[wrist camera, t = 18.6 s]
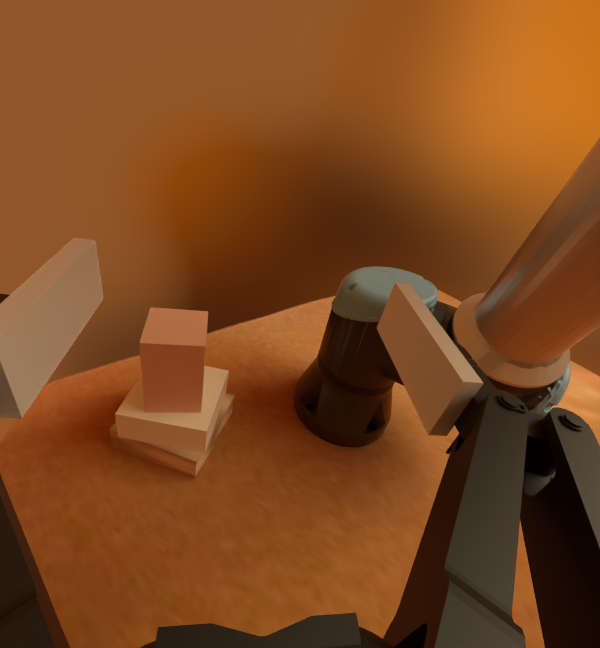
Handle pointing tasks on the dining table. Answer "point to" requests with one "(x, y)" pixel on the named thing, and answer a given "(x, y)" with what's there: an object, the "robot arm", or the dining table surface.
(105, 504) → the dining table surface
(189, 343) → the tall block
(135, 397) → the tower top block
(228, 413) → the tower base block
